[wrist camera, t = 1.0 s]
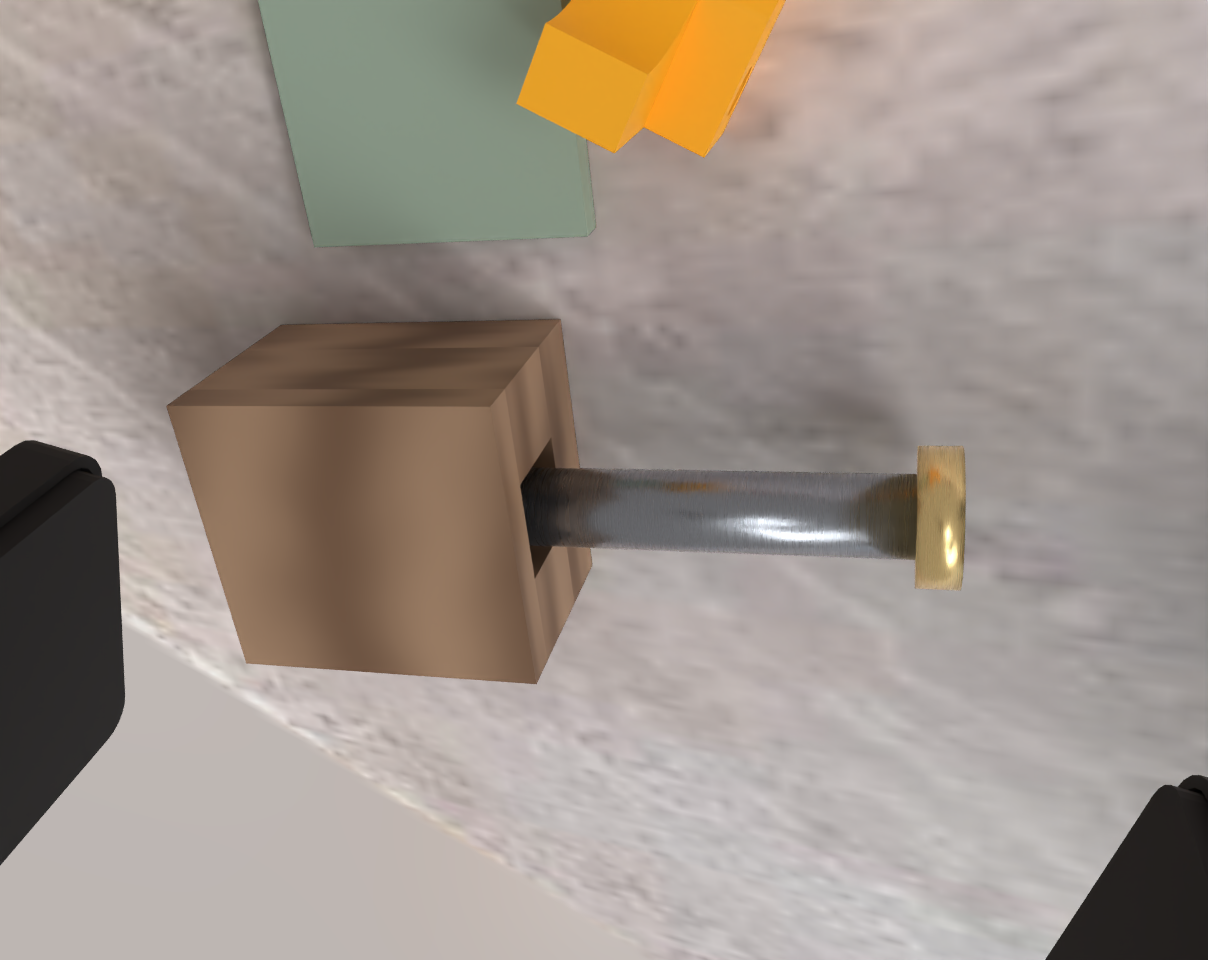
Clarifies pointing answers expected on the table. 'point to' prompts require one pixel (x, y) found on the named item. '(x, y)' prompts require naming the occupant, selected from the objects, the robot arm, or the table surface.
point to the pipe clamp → (647, 67)
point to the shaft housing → (387, 495)
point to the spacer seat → (423, 122)
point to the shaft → (762, 512)
